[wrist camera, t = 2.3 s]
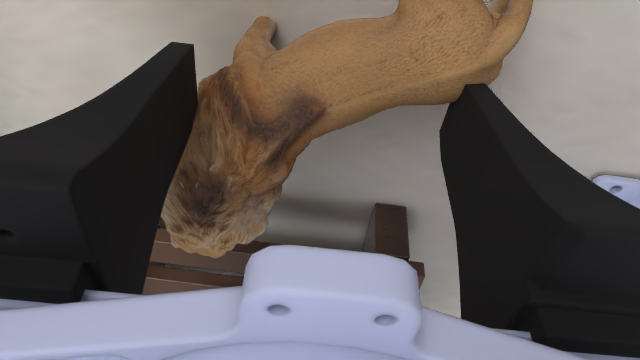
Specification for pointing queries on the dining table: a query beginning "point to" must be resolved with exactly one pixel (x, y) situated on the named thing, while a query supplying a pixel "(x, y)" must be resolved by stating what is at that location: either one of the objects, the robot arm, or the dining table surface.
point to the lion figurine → (320, 103)
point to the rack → (381, 238)
